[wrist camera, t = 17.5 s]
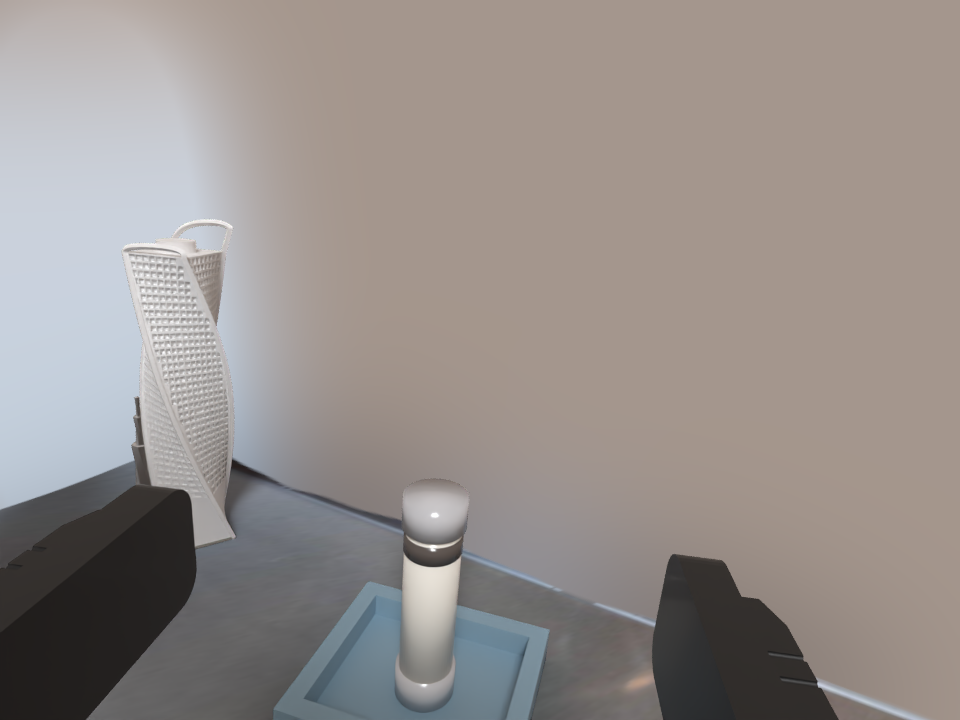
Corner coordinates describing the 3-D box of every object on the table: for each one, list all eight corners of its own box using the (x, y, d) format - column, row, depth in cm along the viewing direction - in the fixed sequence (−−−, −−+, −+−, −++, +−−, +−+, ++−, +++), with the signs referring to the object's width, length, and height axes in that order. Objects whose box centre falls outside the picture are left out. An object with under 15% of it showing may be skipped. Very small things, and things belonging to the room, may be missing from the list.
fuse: (384, 701, 36) (392, 503, 32) (408, 657, 40) (418, 473, 36) (441, 720, 35) (457, 518, 31) (461, 673, 39) (477, 486, 35)
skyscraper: (232, 500, 59) (218, 215, 51) (256, 542, 52) (243, 225, 44) (136, 523, 54) (103, 212, 46) (150, 572, 48) (113, 222, 40)
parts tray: (274, 742, 34) (273, 709, 33) (367, 608, 45) (368, 581, 44) (506, 825, 31) (510, 790, 30) (545, 658, 42) (549, 629, 41)
